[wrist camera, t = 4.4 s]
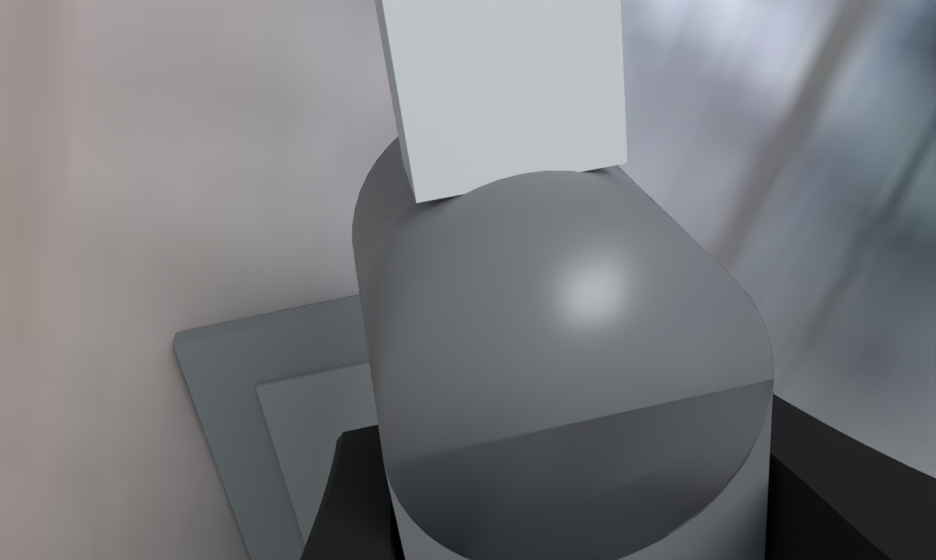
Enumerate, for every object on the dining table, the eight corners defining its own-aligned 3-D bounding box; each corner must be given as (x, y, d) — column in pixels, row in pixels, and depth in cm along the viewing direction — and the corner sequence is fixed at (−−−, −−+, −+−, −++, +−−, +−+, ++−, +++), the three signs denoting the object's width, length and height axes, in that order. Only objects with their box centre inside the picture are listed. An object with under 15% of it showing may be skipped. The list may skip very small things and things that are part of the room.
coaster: (666, 230, 21) (677, 242, 20) (676, 574, 26) (685, 591, 26) (176, 332, 20) (172, 348, 19) (296, 668, 25) (296, 688, 25)
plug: (285, -65, 10) (278, -10, 6) (601, -115, 10) (797, -95, 6) (428, 605, 15) (477, 875, 11) (634, 555, 15) (752, 800, 11)
